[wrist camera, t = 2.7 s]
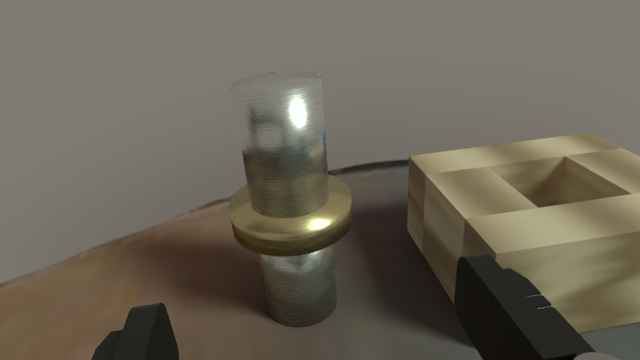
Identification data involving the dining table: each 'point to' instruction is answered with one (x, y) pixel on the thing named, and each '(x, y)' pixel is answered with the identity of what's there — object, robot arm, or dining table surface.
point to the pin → (289, 194)
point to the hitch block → (537, 220)
